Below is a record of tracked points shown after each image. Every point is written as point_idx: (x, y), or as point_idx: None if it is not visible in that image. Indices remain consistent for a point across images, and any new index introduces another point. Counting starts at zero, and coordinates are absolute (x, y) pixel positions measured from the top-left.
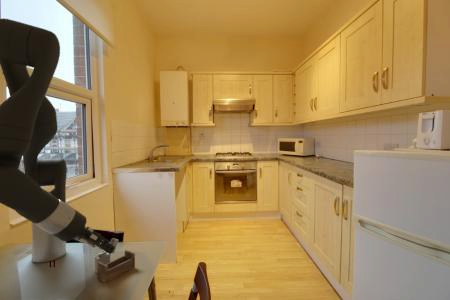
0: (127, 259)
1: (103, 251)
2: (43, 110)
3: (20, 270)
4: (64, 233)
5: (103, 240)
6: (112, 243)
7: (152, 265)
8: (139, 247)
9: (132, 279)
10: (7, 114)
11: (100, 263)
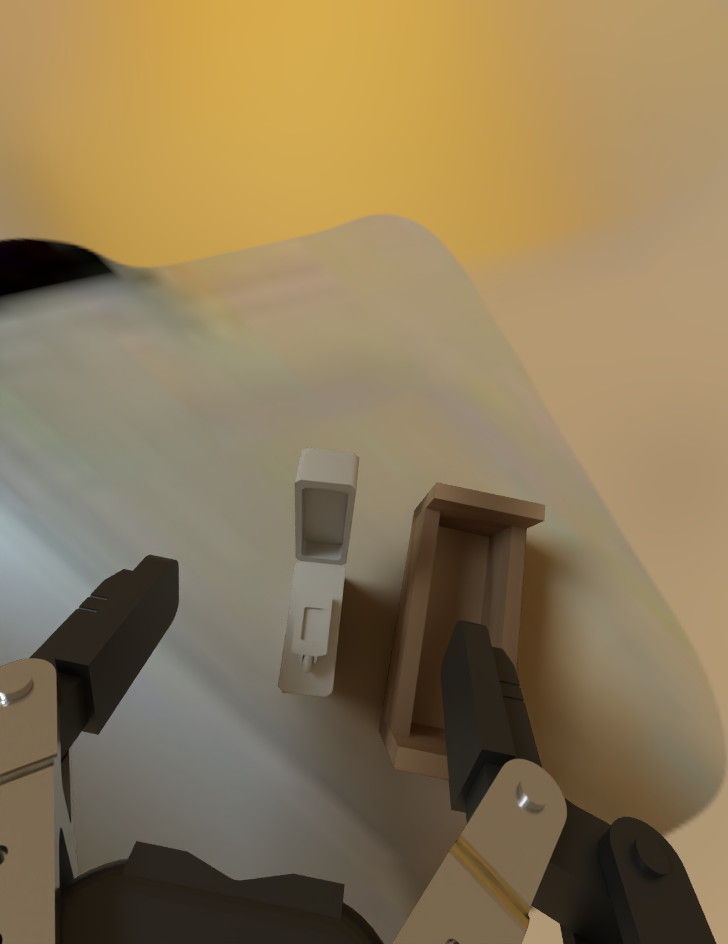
0: (454, 520)
1: (303, 608)
2: None
3: None
4: None
5: (549, 861)
6: (311, 498)
7: (578, 471)
8: (326, 308)
9: (597, 649)
10: None
11: (435, 772)
